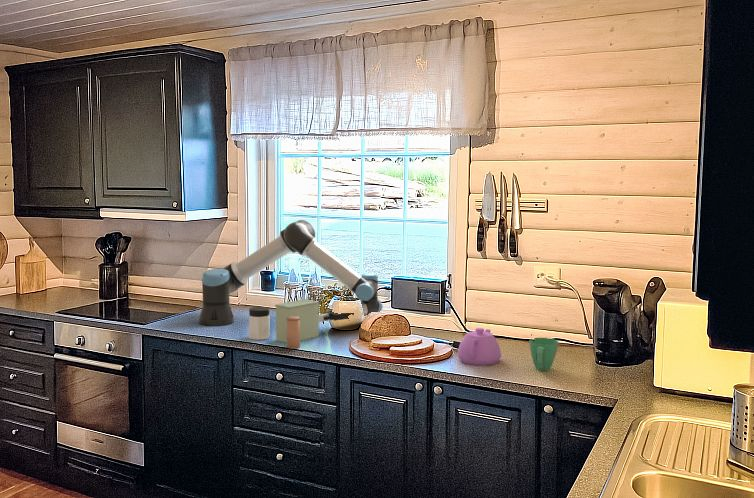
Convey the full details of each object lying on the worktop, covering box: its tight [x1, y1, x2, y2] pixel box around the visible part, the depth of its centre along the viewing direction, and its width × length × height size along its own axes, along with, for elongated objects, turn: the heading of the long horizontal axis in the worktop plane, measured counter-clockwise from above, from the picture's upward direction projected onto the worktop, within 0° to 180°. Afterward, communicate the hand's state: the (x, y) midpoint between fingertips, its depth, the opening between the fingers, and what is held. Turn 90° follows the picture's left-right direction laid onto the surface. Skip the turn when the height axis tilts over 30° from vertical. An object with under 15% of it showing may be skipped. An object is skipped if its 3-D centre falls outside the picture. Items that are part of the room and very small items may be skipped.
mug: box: [529, 337, 559, 371], centre depth 240 cm, size 15×10×10 cm
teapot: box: [457, 327, 502, 367], centre depth 252 cm, size 22×16×12 cm
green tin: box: [275, 298, 320, 343], centre depth 283 cm, size 8×16×15 cm, turn 139°
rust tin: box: [286, 316, 301, 350], centre depth 268 cm, size 5×5×12 cm
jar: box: [248, 306, 271, 341], centre depth 283 cm, size 9×8×12 cm
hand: (316, 319), depth 290 cm, fingers closed
